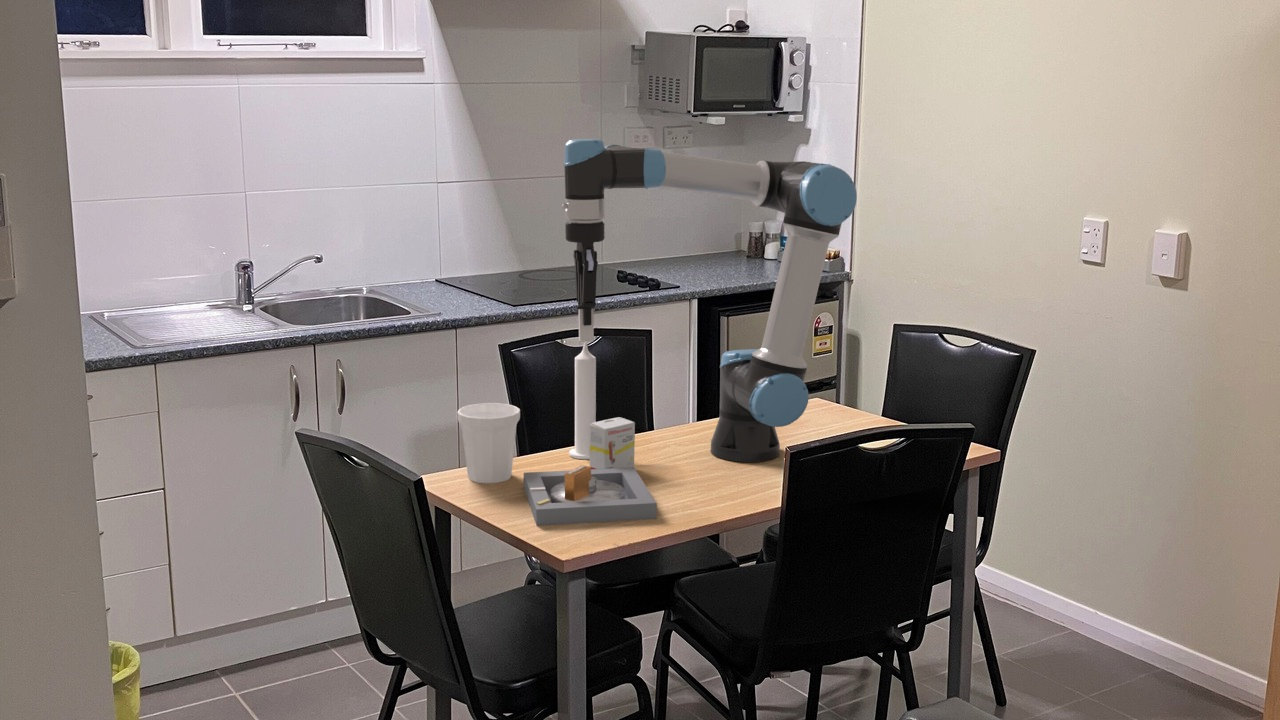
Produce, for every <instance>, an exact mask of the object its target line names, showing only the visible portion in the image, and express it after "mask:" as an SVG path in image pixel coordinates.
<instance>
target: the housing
mask: <svg viewBox="0 0 1280 720" xmlns="http://www.w3.org/2000/svg"><path fill="white" fill-rule="evenodd" d="M571 470H572V469H570V470H556V471H555V470H553V471H552V470H551V471H550V470H549V471H534V472H523V490H524V492H525V495H526V499H527V500H528V501H527V503H528V505H529V507H530V511H531V513H532V516H533V519H534V521H535V526H552V525H555V526H556V525H568V524H569V525H571V524H572V525H573V524H587V523H588V524H589V523H590V524H591V523H607V522H622V521H623V522H625V521H626V522H628V521H639V520H640V521H641V520H642V521H643V520H657V516H658V515H657V512H658V511H657V509H658V505H657V501H656V499H655V498H654V497H653V495H652V493H651V492H650V490H649V489H648V487H647V485H646V484H645V483H644V482H645V481H643V479H642V478H641V476H640V474H639V473H638V471H637V470H636V468H635V466H634V467H632V468H611V469H591V476H592V477H595V478H596V480H603V481H609V482H613V483H616V484H618V485H620V486H622V487H623V488H624V490H625V499H620V500H601V501H582V502H563V503H551V489H552V488H553V487H554V486H556V485H558V484H560V483H563V482H565V473H567V472H569V471H571Z"/></svg>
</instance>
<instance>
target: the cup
mask: <svg viewBox="0 0 1280 720" xmlns="http://www.w3.org/2000/svg"><path fill="white" fill-rule="evenodd" d="M456 413H457V421H458V423H459V425H460V427H461V435H462V441H463V449H464V450H463V451H464V456H465V462H466V463H465V464H466V465H465V466H466V471H467V479H469V480H470V481H472V482H475V483H479V484H481V483H482V484H497V483H502V482H507V481H509V480H510V479H511V476H512V474H513V473H512V472H513V464H514V463H513V462H514V454H515V453H514V452H515V446H516V445H515V443H516V435H517V434H516V433H517V426H518V425H517V424H518V422H519V421H520V419H521V409H520V408H519V407H517V406H515V405H513V404H509V403H501V402H500V403H499V402H483V403H474V404H469V405H464V406H463V407H460V408H459V409H458V411H457V412H456Z"/></svg>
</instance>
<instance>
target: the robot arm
mask: <svg viewBox="0 0 1280 720" xmlns="http://www.w3.org/2000/svg"><path fill="white" fill-rule="evenodd" d="M604 144H605V143H604V141H603V140H602V139H599V138H598V139H597V138H590V139H589V138H575V139H570V140H568V141H567V142H566V143H565V145H564V160H563V161H564V162H563V166H564V192H565V193H564V199H565V200H564V201H565V203H562V209H565V218H566V220H568V221H566V222H565V240H566V241H567V242H569V243H574V244H575V243H576V249H574V250H573V261H574V274H575V276H574V277H575V293H576V297H575V301H576V303H577V305H576V310H578V341H579V342H580V343H583V342H584V343H586V342H594V340H595V339H594V337H595V335H594V334H595V331H594V328H595V327H594V326H595V325H594V324H595V323H594V321H595V320H594V319H595V318H594V316H595V315H594V308H595V307H596V306H597V303H596V301H597V300H596V299H597V298H596V296H597V293H596V292H597V272H598V265H599V262H598V253H597V251H595V248H594V244H595V243H600V242H603V241H604V240H605V222H604V221H602V220H603V219H605V190H606V189H607V190H610V189H611V190H612V189H645V190H647V189H650V188H652V189H660V190H668V191H675V192H682V193H689V194H697V195H707V196H714V197H720V198H721V197H722V198H729V199H737V200H742V201H744V200H745V201H750V202H751V204H752V205H753V206H754V207H762V208H766V209H771V210H775V211H778V212H781V213H784V216H783V221H782V225H783V227H784V229H785V231H786V233H787V236H786V241H785V245H784V250H783V253H782V256H781V257H782V258H781V262H780V266H779V270H778V275H777V279H776V282H775V287H774V291H773V295H772V301H771V305H770V309H769V313H768V318H767V322H766V326H765V331H764V335H763V339H762V344H761V347H760V348H758V349H756V348H755V349H749V348H747V349H734V350H727V351H725V352H724V353H722V355H721V358H720V359H721V360H720V365H719V369H720V376H719V377H720V380H719V419H718V421H717V424H716V427H715V429H714V433H713V436H712V438H711V442H710V453H711V454H712V455H713V456H714V457H717V458H719V459H721V460H722V459H723V460H727V461H731V462H740V463H741V462H745V463H755V462H756V463H757V462H765V461H771V460H773V459H776V458H777V457H779V456H780V453H781V452H780V450H781V449H780V447H781V446H780V440H779V438H778V437H779V436H778V433H777V430H776V428H782V427H785V426H786V427H787V426H790V425H791V424H792V423H794V422H795V421H797V420H798V419H799V418H801V416H803V414H804V413H805V411H806V409H807V406H808V404H809V399H810V397H809V395H810V394H809V390H808V388H807V385H806V383H805V379H806V378H805V377H806V373H807V369H808V364H807V363H806V361H805V360H804V358H803V355H804V354H803V353H804V349H805V346H806V341H807V337H808V334H809V328H810V325H811V320H812V316H813V313H814V307H815V303H816V300H817V296H818V291H819V286H820V283H821V278H822V274H823V270H824V267H825V262H826V257H827V253H828V250H829V245H830V243H831V242H833V240H835V239H837V238H839V235H840V232H841V227H842V223H844V222H845V221H846V220H847V219H849V218H850V216H851V215H852V214H853V212H854V210H855V209H856V206H857V205H856V204H857V200H858V199H857V198H858V195H857V188H856V185H855V182H854V181H853V179H852V178H851V176H850V175H849V174H848V173H847V172H846V171H845V170H843V169H842V168H839V167H837V166H835V165H832V164H830V163H819V162H810V161H805V160H804V161H799V160H798V161H770V160H759V161H758V162H757V163H756V164H755V163H747V162H739V161H732V160H725V159H720V158H713V157H704V156H697V155H696V156H695V155H689V154H682V153H674V152H667V151H662V150H660V149H659V148H649V147H646V148H636V147H628V146H623V145H619V144H611V145H610V144H609V145H604Z"/></svg>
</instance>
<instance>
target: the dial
mask: <svg viewBox="0 0 1280 720" xmlns="http://www.w3.org/2000/svg"><path fill="white" fill-rule="evenodd" d="M570 470H571V471H570ZM570 470H568V471H569V472H567V473H565V482H563V483H560V484H558V485H556V486H554V487H553V488H552V489H551V503H563V502H582V501H601V500H620V499H625V490H624V488H623V487H622V486H620V485H618V484H616V483H613V482H609V481H603V480H596V478H595V477H592V476H591V467H590V466H587V465H582V464H581V465H579V466H578V467H575V468H573V469H570Z"/></svg>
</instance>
